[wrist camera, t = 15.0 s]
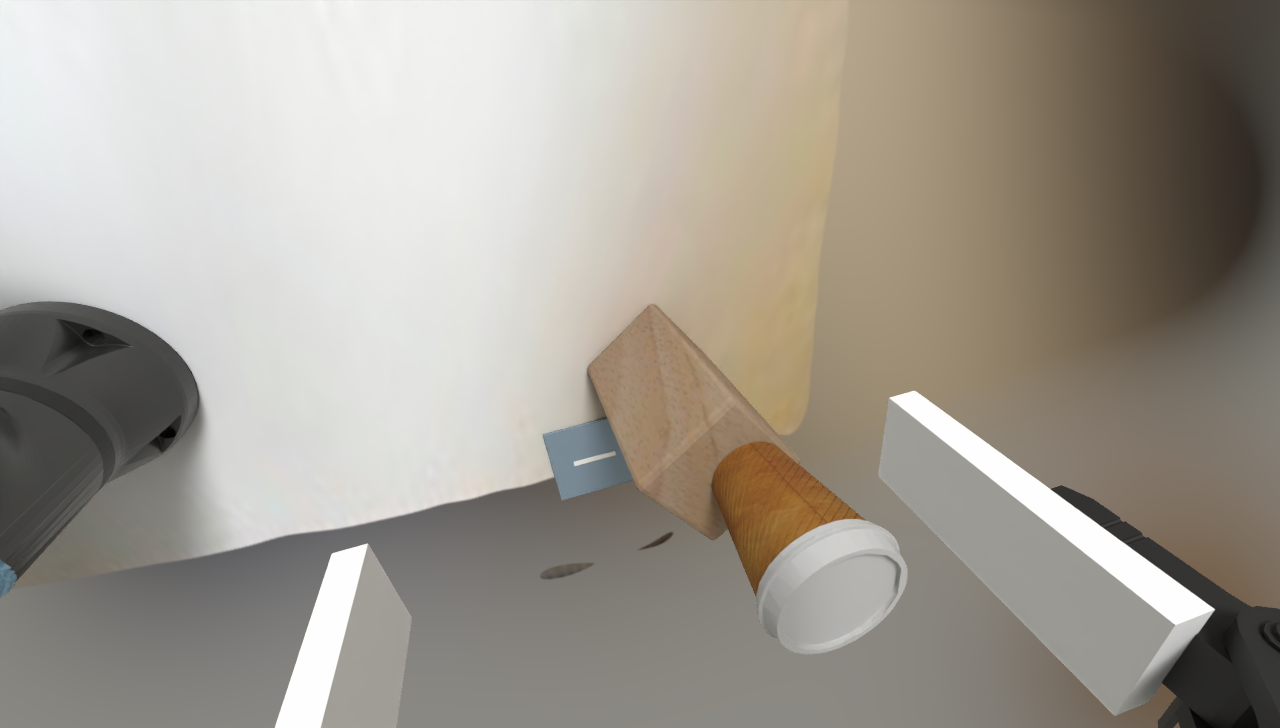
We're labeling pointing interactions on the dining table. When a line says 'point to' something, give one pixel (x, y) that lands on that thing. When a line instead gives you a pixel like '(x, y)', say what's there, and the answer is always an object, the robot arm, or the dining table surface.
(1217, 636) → the robot arm
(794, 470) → the disposable coffee cup
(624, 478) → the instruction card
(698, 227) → the dining table surface
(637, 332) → the wooden block
